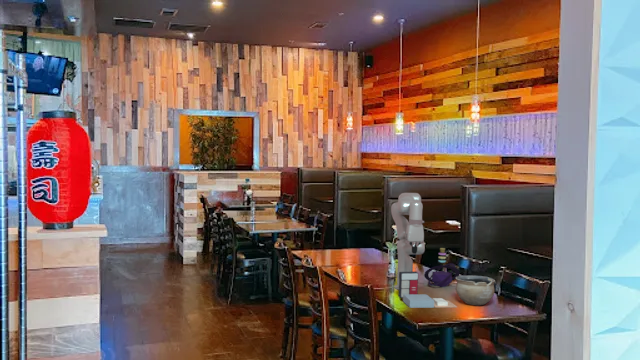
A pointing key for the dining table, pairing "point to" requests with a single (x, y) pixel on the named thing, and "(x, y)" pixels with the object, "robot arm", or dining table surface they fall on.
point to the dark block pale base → (408, 283)
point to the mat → (446, 306)
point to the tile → (440, 302)
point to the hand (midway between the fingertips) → (414, 253)
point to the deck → (418, 301)
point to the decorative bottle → (441, 273)
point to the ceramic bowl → (475, 289)
